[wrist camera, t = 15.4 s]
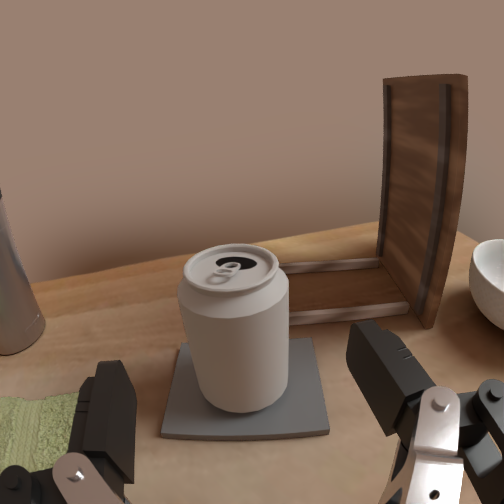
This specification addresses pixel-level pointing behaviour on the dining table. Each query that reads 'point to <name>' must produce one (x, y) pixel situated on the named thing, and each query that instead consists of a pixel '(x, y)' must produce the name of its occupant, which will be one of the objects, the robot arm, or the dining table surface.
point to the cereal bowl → (488, 280)
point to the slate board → (256, 422)
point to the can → (237, 325)
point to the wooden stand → (411, 198)
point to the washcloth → (35, 430)
